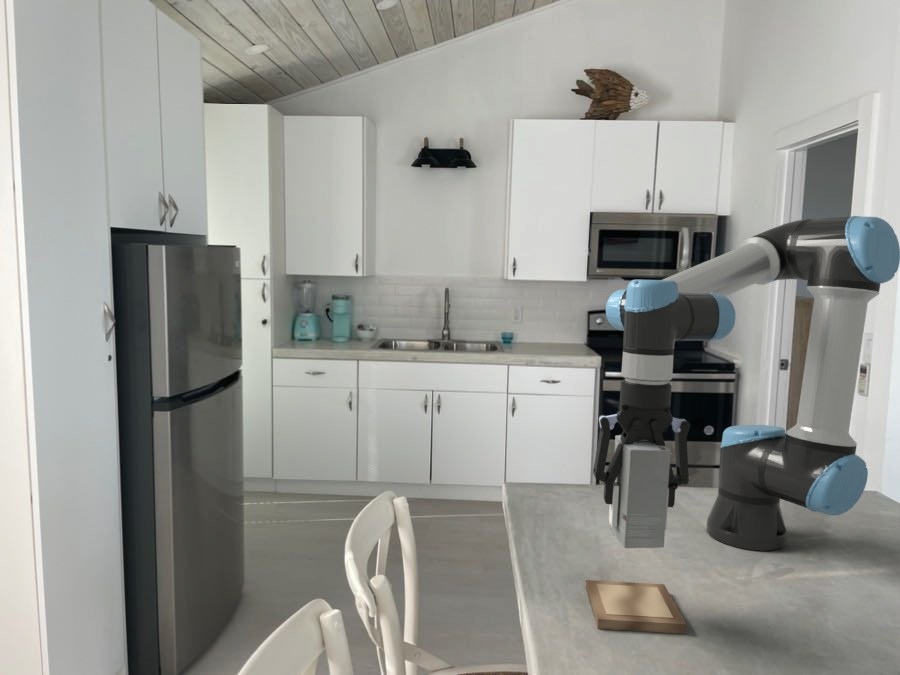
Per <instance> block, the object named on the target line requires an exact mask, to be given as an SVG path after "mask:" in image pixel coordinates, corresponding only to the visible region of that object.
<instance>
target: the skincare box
mask: <svg viewBox="0 0 900 675" xmlns="http://www.w3.org/2000/svg"><path fill="white" fill-rule="evenodd" d="M621 435H622V434H619V435H615V436H614V437H615V439H614V453H615V451H616V448H617V446H618V444H622V441H621V439H620V438H621ZM614 453H613V454H614ZM671 455H672V452H671V450H670V449H669V448H668V447H666V445H665V446H659V445H656V444H655V443H654V442H653V441H647V440H640V441H634V442H633V444H623V460H622V467H621V469H620V471H619V474H618V476H617V478H616V480H615V481H616V482H617V484H618V485H619V497H618V514H617V527H612V526H611V524H610V522H608V523H609V524H608V527H609V530H610V531H611V532H612V533H613V535H614V536H615V538H616V539H617V541H618V542H619V543H620V545H622V547H623V548H624V549H655V548H657V549H660V548H664V547H665V535H666V534H665V532H666V530H665V523H666V509H667V495H668V482H669V469H670V464H671Z"/></svg>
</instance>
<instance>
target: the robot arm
mask: <svg viewBox="0 0 900 675" xmlns="http://www.w3.org/2000/svg"><path fill="white" fill-rule="evenodd" d="M894 230H895V229H893V227H892V225H890V223H889V222H887V221H886V220H885V219H883V218H881V217H877V216H859V215H853V216H844V217H843V216H840V217H830V218H829V217H828V218H827V217H826V218H813V219H812V218H808V219H806V218H805V219H804V218H803V219H800V220H794V221H790V222H787V223H784V224H781V225H778V226H775V227H772V228H770V229H767V230H765V231H763V232H759V233H758V234H755V235H753V236H750V237H748V238H746V239H744V240H743V241H742V242H740V244H739V245H738V247H737V248H735V249H733V250H730V251H729V252H725V253H723V254H721V255H719V256H716V257H713V258H711V259H709V260H706V261H703V262H701V263H699V264H696V265H694V266H692V267H690V268H688V269H685V270H682V271H680V272H677V273H675V274H673V275H670V276H668V277H666V278H663V279H636V278H635V279H632V280H631V281H629V282H628V285H627V288H626V289H619V290H616V291H614V292H613V293H612V294H611V295H610V296H609V298H608V299H607V302H606V305H605V314H606V315H605V316H606V319H607V322H608V323H609V325H610V326H611V327H612V328H614V329H616V330H618V331H623V344H622V345H623V346H622V359H621V360H622V362H621V374H620V375H621V376H622V377H623V378H624V379H622V380H621V381H620V391H619V392H620V393H619V404H618V405H619V407H618V408H617V411H616V412H615V414H610V415H605V414H600V415H599V416H598V420H597V421H598V424H599V428H600V429H599V433H598V434H599V435H598V441H597V442H598V443H597V445H596V446H597V447H596V453H595V456H594V457H595V458H594V464H593V470H592V474H593V476H594V478H595V479H596V480H597V481H601V482H603V483H604V484H603V500H604V503H605V504H606V505H609V509H608V512H609V513H608V521H609V522H610V524H611V526H612V527H617V514H618V497H619V485H618V484H617V482H616V481H615V480H616V478H617V476H618V474H619V471H620V469H621V467H622V460H623V444H633V442H634V441H640V440H647V441H653V442H654V443H655V444H656V445H659V446H665V447H666V443H665V440H664V437H663V434H664V433H665V432H666V430H667V429H668V428H669V427H670V426H672V428H671V429H672V431H673V432H674V451H675V469H676V471H675V472H676V474H674V471H673V468H672V465H671V463H670V469H669V482H668V495H667V509H666V523H665V531H667V526H668V525H667V524H668V509H669V508H674V506H675V499H676V490H677V489H678V487H679V486H680V485H687V484H688V483H689V482H690V480H689V461H688V460H689V458H688V457H689V456H688V453H689V452H688V438H687V437H688V433H689V431H690V428H691V423H690V422H689V421H687V420H686V419H685V418H682V417H681V418H677V417H674V416H673V415H672V413H671V402H672V401H671V399H672V388H673V387H672V385H671V383H670V382H669V381H671V380H673V370H674V354H675V342H682V341H684V342H686V341H688V342H689V341H691V342H692V341H694V342H695V341H701V342H702V341H703V342H704V341H705V342H711V341H718V340H722V339H724V338H726V337H727V336H728V335H729V334H730V333H731V332H732V331H733V329H734V327H735V324H736V310H735V306H734V305H733V303H732V301H731V300H730V299H729V298H727V296H731V295H732V294H735V293H736V292H739V291H741V290H744V289H746V288H748V287H750V286H752V285H754V284H755V285H758V286H759V285H760V286H763V285H767V284H769V283H773V282H775V281H782V280H783V281H785V280H800V281H807V284H806V290H808V292H809V293H810V294H811V296H812V297H813V306H812V313H811V320H810V328H809V335H808V339H807V340H808V342H807V347H806V354H805V363H804V368H803V375H802V376H803V377H802V384H801V390H800V398H799V404H798V412H797V418H796V424H794V426H792V427H791V428H789V429H787V430H786V429H785V428H784V427H782V426H781V427H780V426H778V425H777V426H776V425H769V424H768V425H767V424H763V425H762V424H740V425H733V426H732V425H731V426H729V427H727V428H725V429H724V431H723V432H722V439H721V444H720V446H719V447H720V452H719V453H720V454H719V456H720V457H719V458H720V459H719V469H718V470H719V475H718V490H717V496H716V499H715V500H714V504H713V505H712V508H711V510H710V513H709V515H708V517H707V520H706V533H707V534H708V535H709V536H710V537H711V538H713V539H715V540H716V541H718V542H720V543H723V544H726V545H728V546H732V547H734V548H735V547H736V548H740V549H745V550H751V551H762V552H763V551H776V550H780V549H783V548H784V547H786V545H787V536H788V532H787V531H788V530H787V528H786V524H785V519H784V516H783V513H782V509H781V504H780V503H781V500H783V501H785V502H789V503H791V504H793V505H797V506H800V507H803V508H805V509H808V511H809V510H810V512H815V513H816V512H818V513H821V514H824V515H828V516H839V515H842V514H846V513H847V512H848V511H850V510H851V509H852V508H853V507H854V506H855V505H856V504H857V503H858V502H859V500H860V499H861V497H862V495H863V494H864V493H863V492H864V491H865V489H866V485H867V482H868V476H869V475H868V474H869V470H868V468H867V463H866V461H865V460H864V459H863V458H862V457H860V456H858V455H857V446H858V444H857V442H856V441H855V439H854V438H853V437H852V436H851V435H850V425H851V421H852V420H851V419H852V412H853V405H854V398H855V392H856V386H857V379H858V372H859V366H860V360H861V359H860V358H861V353H862V352H861V351H862V346H863V345H862V344H863V339H864V338H863V337H864V332H865V326H866V324H865V323H866V318H867V317H866V316H867V311H868V310H867V309H868V304H869V302H870V301H871V300H873V299H874V298H876V297H877V296H879V295H880V289H881V284H885V283H888V282H889V281H891V280H892V279H894V277H895V274H896V273H897V272H898V270H899V266H900V243H899V238H898V236H897V235H896V232H895V231H894ZM616 423H618V424H619V425H620V427H621V429H622V430H623V431H622V432H621V434H620V435H621V438H620V439H621V441H622V444H618V446H617V448H616V451H615V450H614V451H615V453H613V455H612V457H611V459H610V462H609V464H608V466H607V469H605V468H606V463H607V457H608V452H609V446H610V441H611V430H614V428H615V424H616ZM605 470H606V471H605ZM609 522H608V523H609Z"/></svg>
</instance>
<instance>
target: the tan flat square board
mask: <svg viewBox="0 0 900 675" xmlns="http://www.w3.org/2000/svg"><path fill="white" fill-rule="evenodd" d="M585 592H586V595H587V598H588V602H589V604H590V608H591V611H592V615H593V618H594V622H595V625H596V627H597V629H599V630H615V631H631V632H632V631H634V632H646V633H647V632H649V633H664V634H665V633H666V634H667V633H668V634H682V635H686V634H687V623H686V621H685V619H684V617H683V616H682V614H681V612H680V610H679V609H678V607H677V604H676V603H675V600H674V599H673V597H672V596H671V594H670V592H669V590H668V588H667V587H666V585H665V584H664V583H651V582H650V583H649V582H628V581H610V580H593V579H586V580H585Z"/></svg>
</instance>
